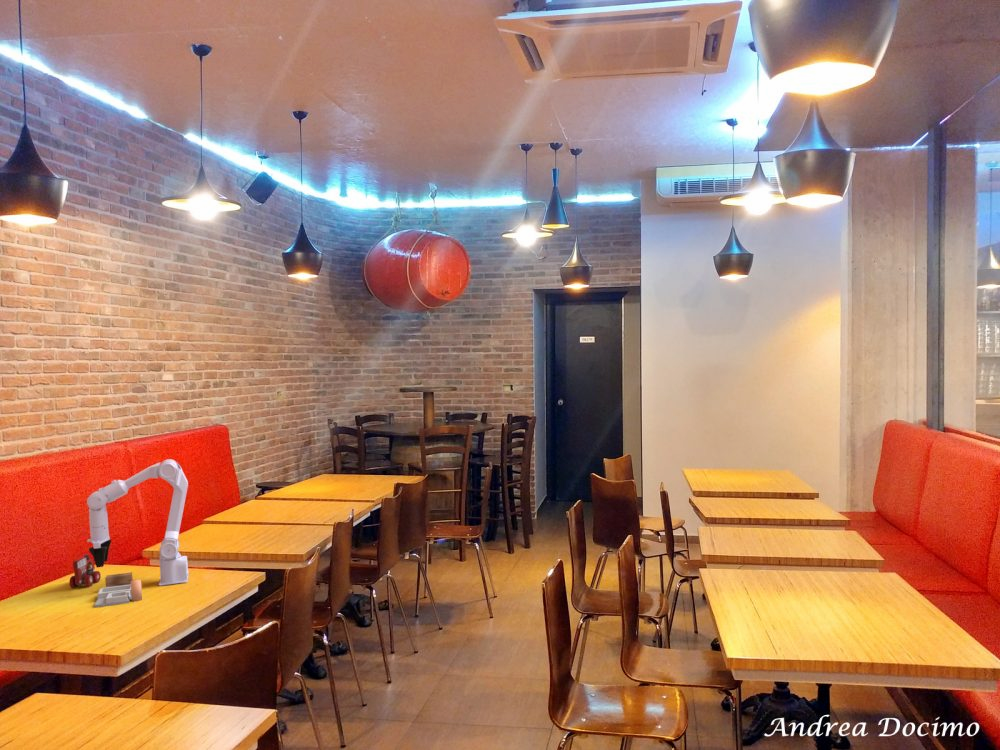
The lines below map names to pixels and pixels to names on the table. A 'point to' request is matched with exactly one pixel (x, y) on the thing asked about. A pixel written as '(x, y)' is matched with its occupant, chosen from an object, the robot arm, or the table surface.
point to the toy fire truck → (84, 572)
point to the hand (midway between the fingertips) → (101, 564)
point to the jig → (114, 595)
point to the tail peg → (136, 590)
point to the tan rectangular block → (118, 579)
